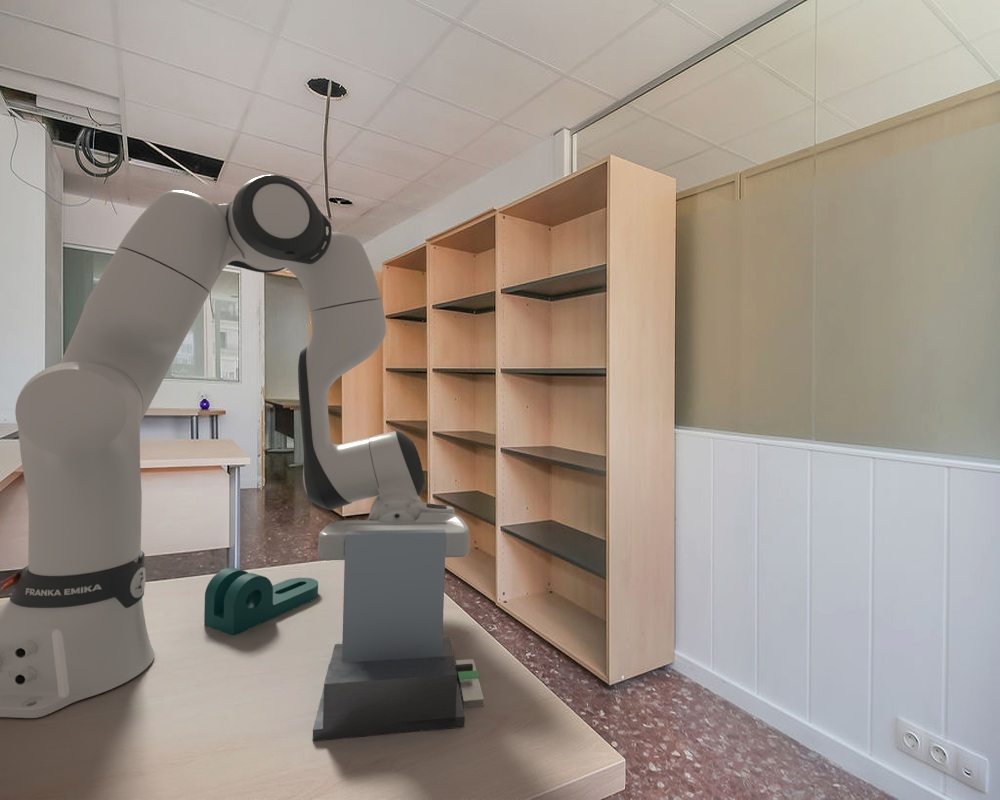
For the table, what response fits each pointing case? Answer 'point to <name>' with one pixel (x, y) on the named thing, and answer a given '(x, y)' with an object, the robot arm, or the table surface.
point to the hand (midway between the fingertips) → (395, 558)
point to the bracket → (251, 599)
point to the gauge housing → (395, 695)
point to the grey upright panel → (394, 595)
